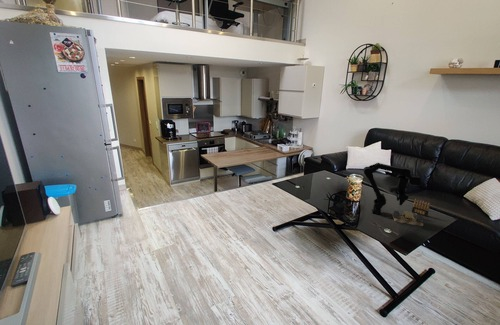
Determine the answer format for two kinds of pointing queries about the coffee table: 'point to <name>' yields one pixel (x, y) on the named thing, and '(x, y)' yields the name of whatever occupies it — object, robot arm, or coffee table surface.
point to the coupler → (408, 215)
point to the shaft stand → (415, 221)
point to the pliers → (381, 227)
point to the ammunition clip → (420, 208)
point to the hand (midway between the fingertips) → (398, 202)
